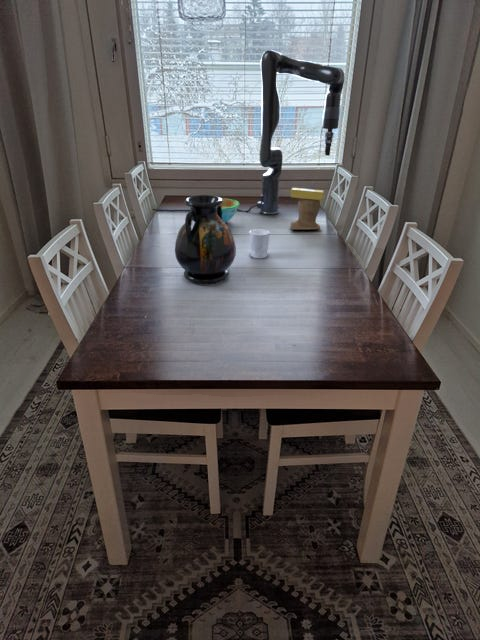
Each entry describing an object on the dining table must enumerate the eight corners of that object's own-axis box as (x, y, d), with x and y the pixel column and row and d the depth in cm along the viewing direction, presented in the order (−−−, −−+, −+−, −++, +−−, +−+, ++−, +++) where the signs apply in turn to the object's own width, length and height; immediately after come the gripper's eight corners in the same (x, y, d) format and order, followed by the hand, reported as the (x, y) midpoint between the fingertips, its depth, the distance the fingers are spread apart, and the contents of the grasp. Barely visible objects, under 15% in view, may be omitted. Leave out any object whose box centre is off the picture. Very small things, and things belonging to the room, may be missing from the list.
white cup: (270, 253, 171) (271, 230, 166) (265, 260, 164) (266, 235, 159) (252, 251, 173) (253, 228, 168) (246, 257, 167) (247, 233, 162)
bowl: (187, 226, 204) (186, 205, 199) (207, 214, 222) (206, 196, 217) (228, 231, 197) (228, 210, 192) (245, 219, 215) (246, 200, 210)
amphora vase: (213, 294, 137) (211, 210, 123) (164, 280, 147) (157, 201, 133) (247, 273, 153) (248, 196, 139) (200, 261, 163) (197, 189, 149)
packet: (290, 197, 192) (291, 189, 191) (291, 195, 198) (292, 187, 196) (322, 200, 190) (323, 192, 189) (322, 198, 196) (323, 190, 194)
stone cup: (316, 225, 207) (319, 194, 199) (321, 232, 196) (325, 200, 189) (287, 225, 206) (288, 194, 199) (290, 232, 196) (292, 200, 189)
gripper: (322, 116, 199) (319, 152, 207) (322, 118, 187) (319, 156, 195) (338, 116, 198) (334, 152, 206) (339, 118, 186) (335, 156, 194)
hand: (327, 154), depth 201 cm, fingers open, 8 cm apart
